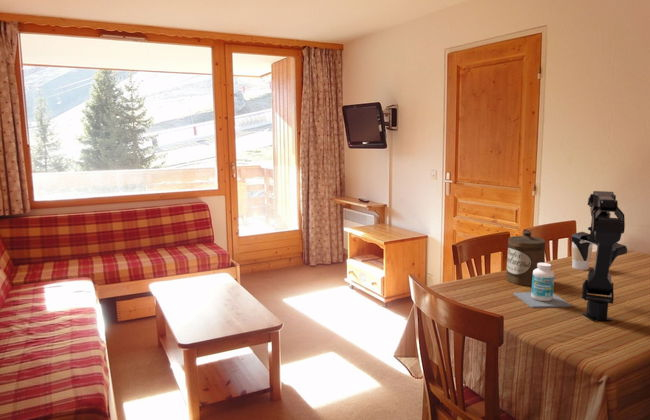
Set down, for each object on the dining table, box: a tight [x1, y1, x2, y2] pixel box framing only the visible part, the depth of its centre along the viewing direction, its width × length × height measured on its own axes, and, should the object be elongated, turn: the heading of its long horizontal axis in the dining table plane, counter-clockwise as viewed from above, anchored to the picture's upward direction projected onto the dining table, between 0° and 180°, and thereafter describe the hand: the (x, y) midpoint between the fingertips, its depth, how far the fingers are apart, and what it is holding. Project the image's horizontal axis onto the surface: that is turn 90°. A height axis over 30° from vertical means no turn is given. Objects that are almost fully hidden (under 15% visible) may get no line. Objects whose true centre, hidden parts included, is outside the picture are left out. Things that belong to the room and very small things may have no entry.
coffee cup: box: [571, 241, 594, 271], centre depth 220 cm, size 9×9×15 cm
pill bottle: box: [530, 262, 555, 301], centre depth 178 cm, size 8×7×14 cm
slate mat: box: [512, 291, 573, 309], centre depth 179 cm, size 15×15×1 cm
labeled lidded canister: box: [505, 229, 546, 287], centre depth 201 cm, size 15×15×22 cm
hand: (596, 265), depth 175 cm, fingers open, 9 cm apart
